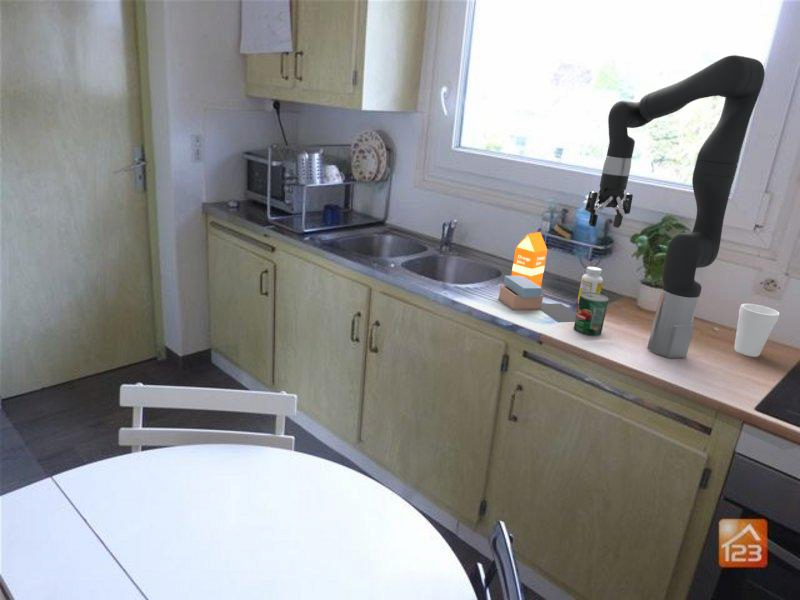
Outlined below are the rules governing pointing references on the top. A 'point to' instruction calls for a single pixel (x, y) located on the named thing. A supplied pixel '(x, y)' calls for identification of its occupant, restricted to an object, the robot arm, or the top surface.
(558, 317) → the mat
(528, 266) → the orange juice
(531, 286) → the blue-grey rectangular block
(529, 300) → the brown open box
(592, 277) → the supplement bottle
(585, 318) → the canned tomato
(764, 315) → the foam cup
